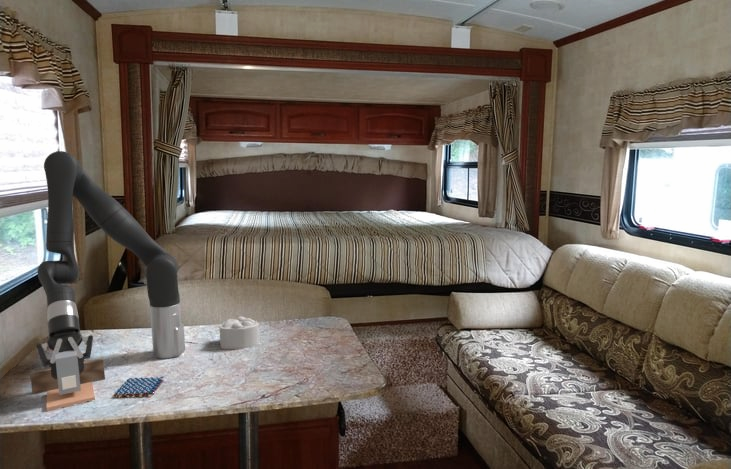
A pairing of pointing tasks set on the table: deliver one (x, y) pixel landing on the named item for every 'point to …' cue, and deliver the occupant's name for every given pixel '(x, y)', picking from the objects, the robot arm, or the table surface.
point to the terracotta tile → (70, 397)
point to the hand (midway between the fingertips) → (68, 375)
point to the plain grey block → (67, 372)
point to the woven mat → (139, 387)
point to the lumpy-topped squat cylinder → (239, 333)
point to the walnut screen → (45, 382)
